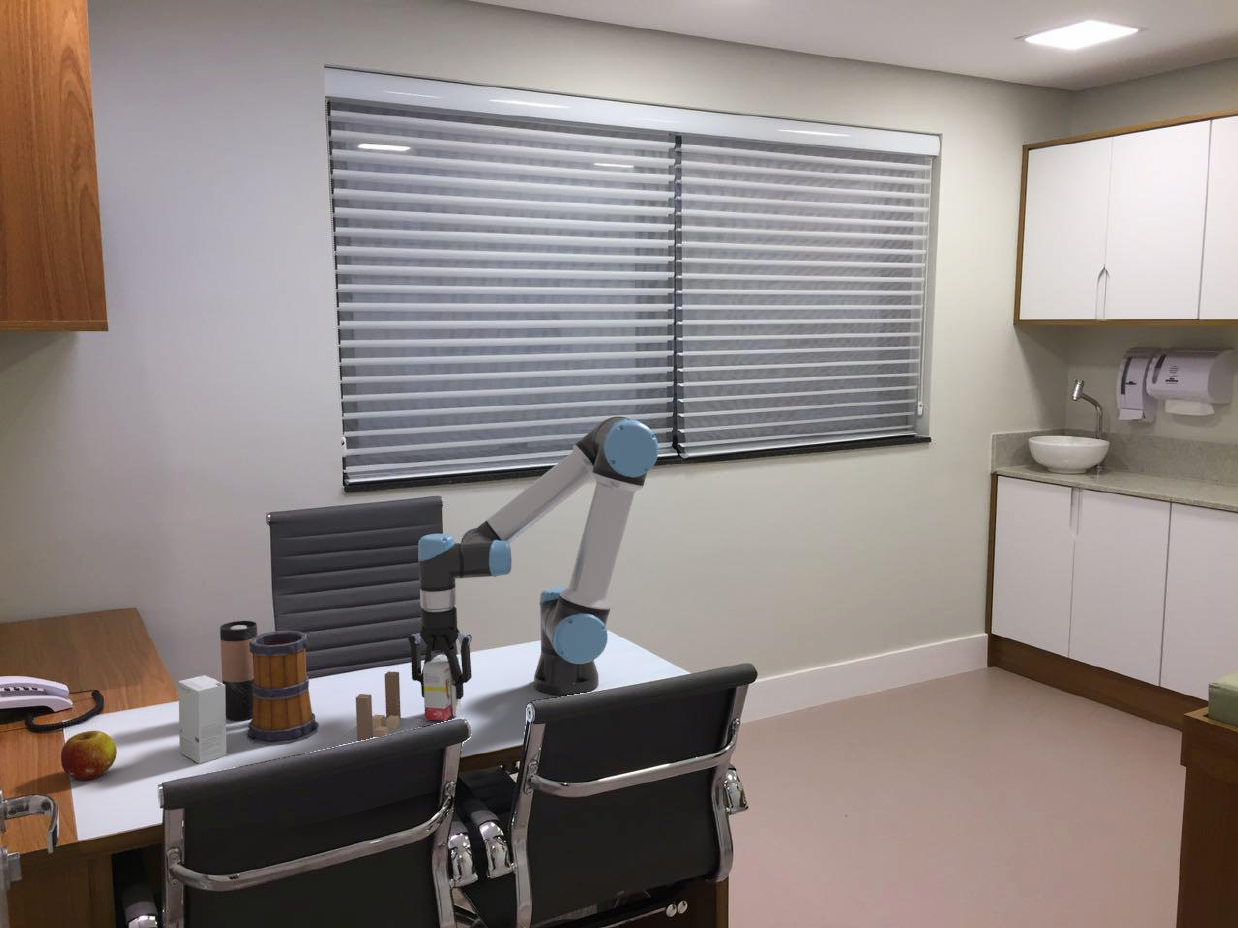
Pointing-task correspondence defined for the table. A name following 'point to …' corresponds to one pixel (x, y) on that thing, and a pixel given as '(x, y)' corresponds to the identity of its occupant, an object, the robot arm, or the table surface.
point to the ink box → (438, 689)
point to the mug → (280, 689)
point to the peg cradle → (379, 723)
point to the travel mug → (238, 668)
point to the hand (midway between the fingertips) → (443, 711)
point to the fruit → (88, 755)
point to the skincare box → (202, 718)
